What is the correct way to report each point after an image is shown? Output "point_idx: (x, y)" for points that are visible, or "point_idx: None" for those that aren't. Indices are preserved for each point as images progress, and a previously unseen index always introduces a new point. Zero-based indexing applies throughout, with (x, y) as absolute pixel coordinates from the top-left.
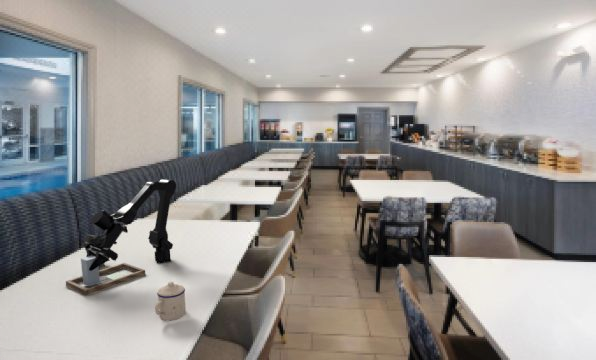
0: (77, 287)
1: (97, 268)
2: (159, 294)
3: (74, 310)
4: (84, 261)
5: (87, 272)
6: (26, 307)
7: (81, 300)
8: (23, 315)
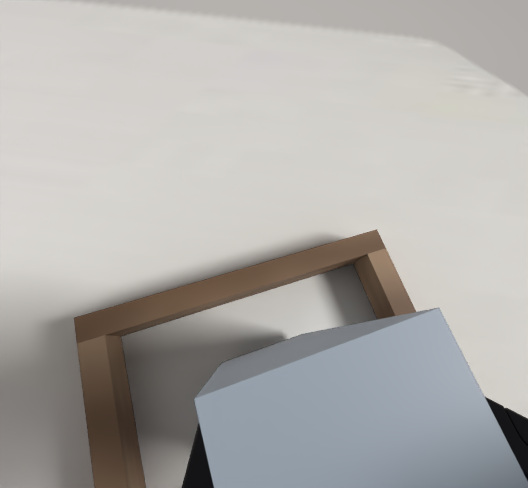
0: (211, 279)
1: None
2: None
3: None
4: (286, 359)
5: (215, 371)
6: (175, 66)
7: (33, 281)
8: (86, 47)
